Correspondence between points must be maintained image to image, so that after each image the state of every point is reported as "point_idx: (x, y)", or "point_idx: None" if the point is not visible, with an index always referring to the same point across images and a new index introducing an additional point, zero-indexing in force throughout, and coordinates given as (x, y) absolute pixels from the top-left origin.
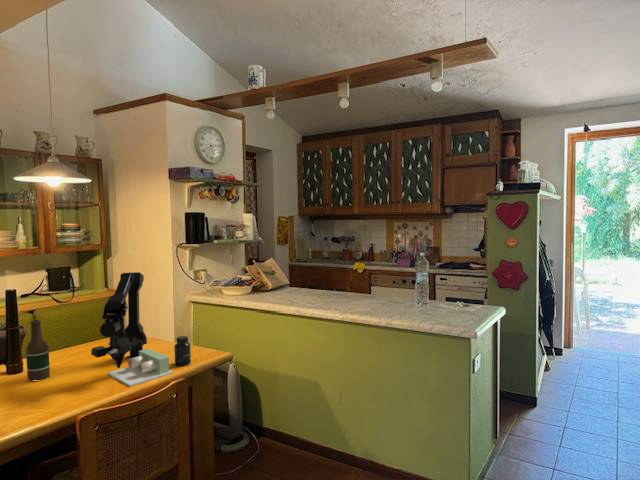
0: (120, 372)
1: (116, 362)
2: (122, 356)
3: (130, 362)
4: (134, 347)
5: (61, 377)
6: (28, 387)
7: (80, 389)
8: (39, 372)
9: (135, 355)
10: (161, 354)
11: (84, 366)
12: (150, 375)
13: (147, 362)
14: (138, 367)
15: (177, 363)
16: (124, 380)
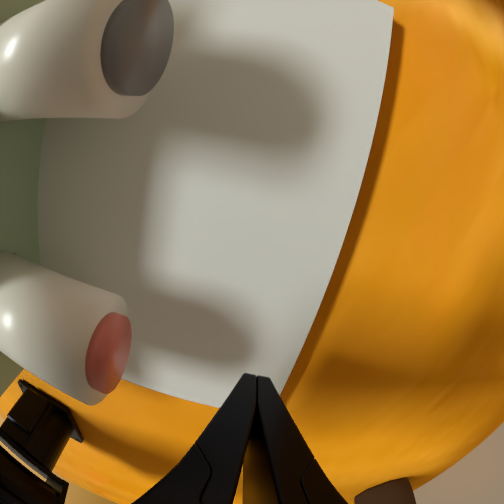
0: (215, 354)
1: (305, 442)
2: (191, 497)
3: (101, 345)
4: (33, 447)
5: (367, 476)
6: (450, 454)
7: (495, 327)
8: (409, 499)
9: (48, 416)
10: None
11: None
12: None
13: (26, 17)
14: (133, 71)
15: None
16: (357, 132)
